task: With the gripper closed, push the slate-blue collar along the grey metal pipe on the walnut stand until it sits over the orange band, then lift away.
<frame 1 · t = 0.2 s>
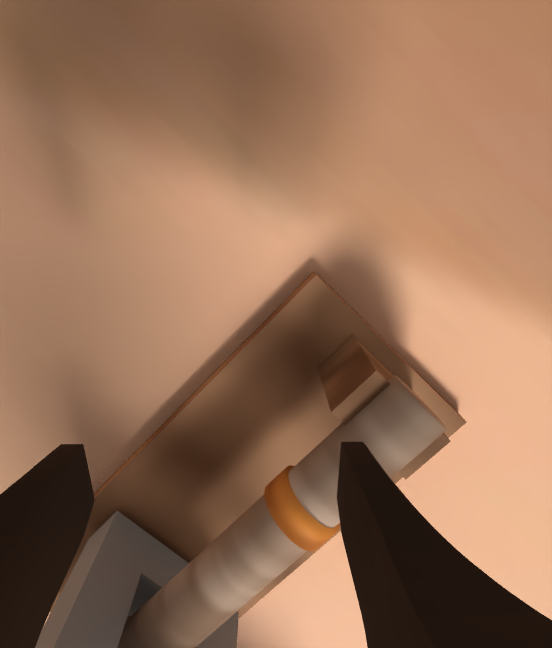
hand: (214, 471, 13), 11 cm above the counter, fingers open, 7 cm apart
collar: (146, 645, 21), point 6 cm above the counter, slide at 0.0 cm
pipe stand: (230, 494, 25), on the counter
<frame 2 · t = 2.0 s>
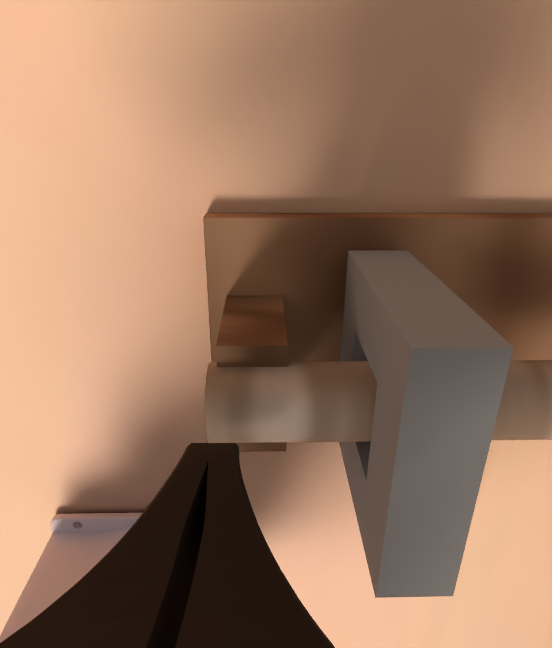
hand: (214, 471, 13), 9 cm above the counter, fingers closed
collar: (393, 400, 16), point 6 cm above the counter, slide at 0.0 cm
pipe stand: (466, 331, 22), on the counter
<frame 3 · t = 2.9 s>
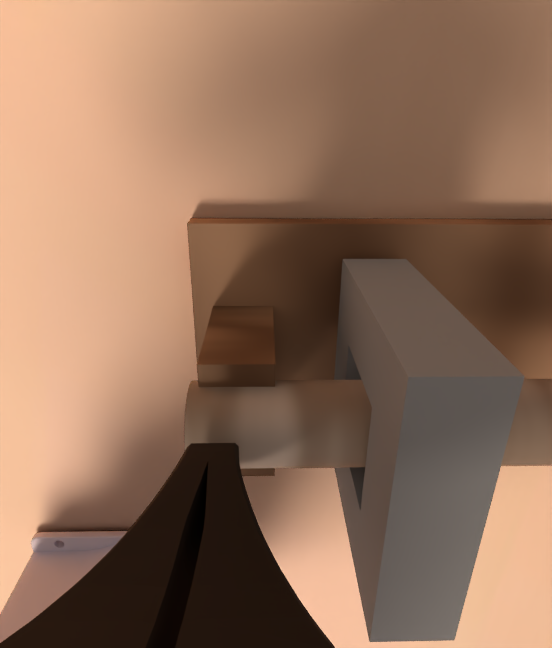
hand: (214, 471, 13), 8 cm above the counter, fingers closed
collar: (390, 422, 15), point 6 cm above the counter, slide at 0.0 cm
pipe stand: (468, 342, 20), on the counter
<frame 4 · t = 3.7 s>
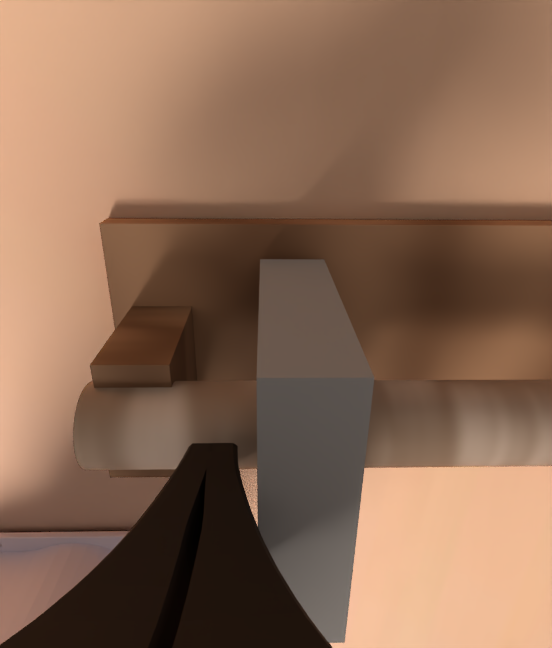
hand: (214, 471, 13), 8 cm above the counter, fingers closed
collar: (296, 423, 15), point 6 cm above the counter, slide at 0.2 cm, touching gripper
pipe stand: (396, 343, 20), on the counter
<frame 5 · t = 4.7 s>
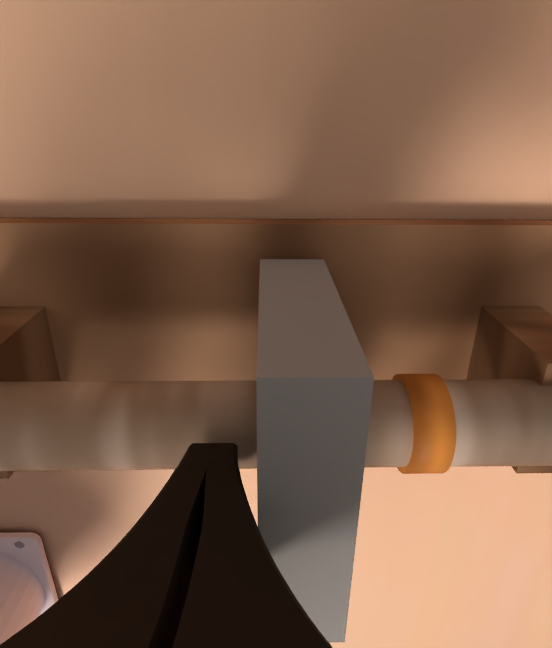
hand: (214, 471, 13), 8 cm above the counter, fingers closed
collar: (296, 423, 15), point 6 cm above the counter, slide at 6.0 cm, touching gripper
pipe stand: (265, 343, 20), on the counter
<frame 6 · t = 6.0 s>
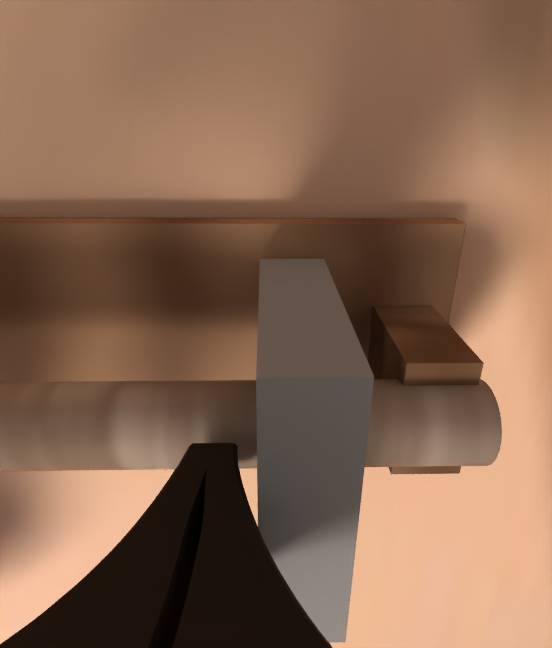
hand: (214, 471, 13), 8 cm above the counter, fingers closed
collar: (296, 423, 15), point 6 cm above the counter, slide at 10.4 cm, touching gripper
pipe stand: (164, 344, 20), on the counter
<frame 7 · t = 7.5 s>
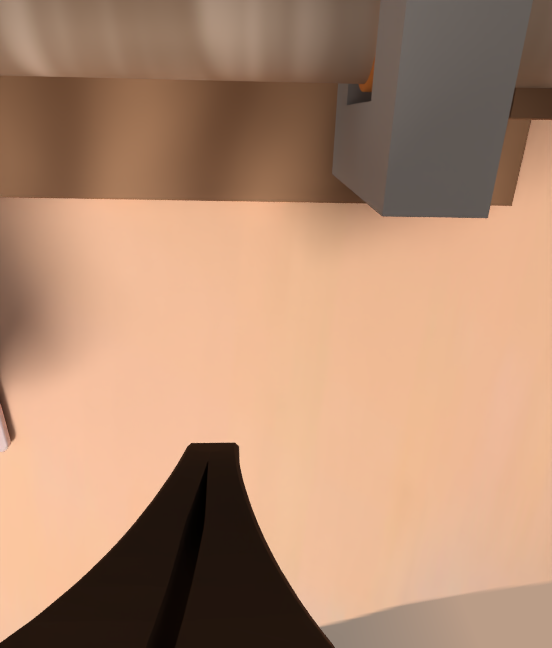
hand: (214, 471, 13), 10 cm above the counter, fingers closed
collar: (407, 26, 12), point 6 cm above the counter, slide at 10.5 cm
pipe stand: (224, 50, 18), on the counter
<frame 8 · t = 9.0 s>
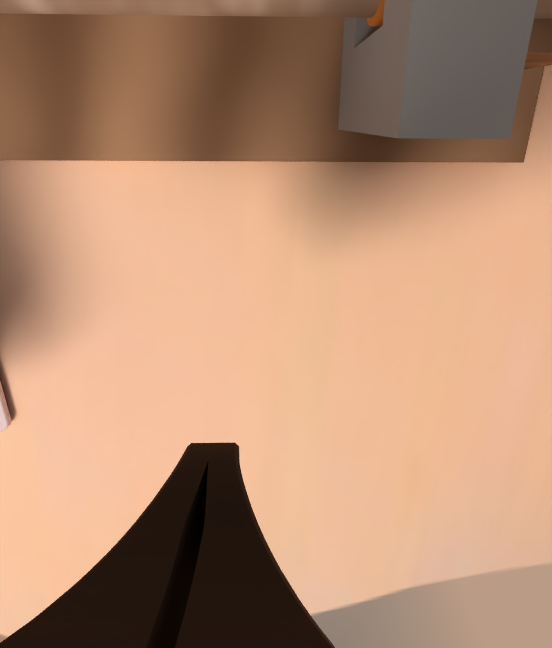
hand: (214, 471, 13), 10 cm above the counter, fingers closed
pipe stand: (225, 2, 17), on the counter
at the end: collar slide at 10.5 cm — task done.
